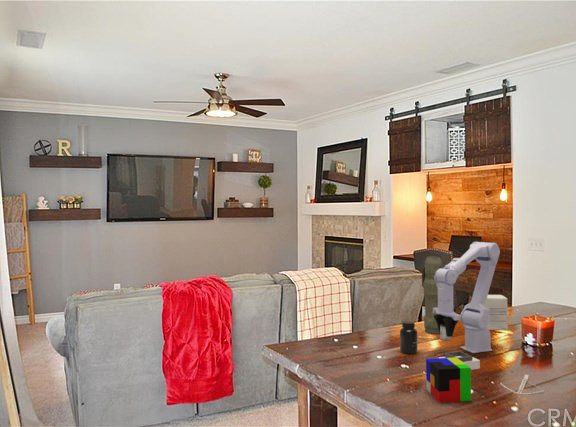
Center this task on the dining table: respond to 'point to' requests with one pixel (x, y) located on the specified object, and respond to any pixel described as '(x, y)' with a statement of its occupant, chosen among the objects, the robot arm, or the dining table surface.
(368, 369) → the dining table surface
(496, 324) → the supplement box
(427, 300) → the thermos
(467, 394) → the puzzle toy
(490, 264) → the robot arm
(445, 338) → the lens
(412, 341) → the supplement bottle
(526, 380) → the crossbow
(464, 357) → the camera body
